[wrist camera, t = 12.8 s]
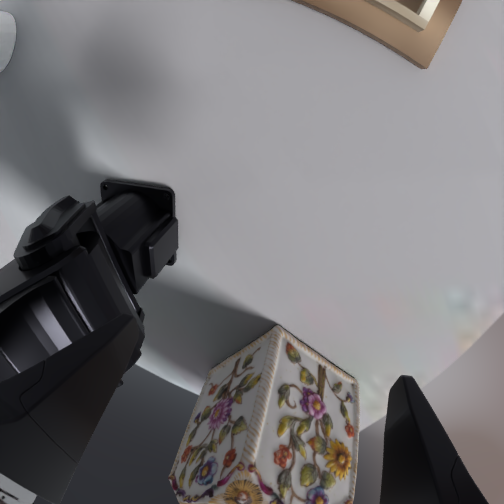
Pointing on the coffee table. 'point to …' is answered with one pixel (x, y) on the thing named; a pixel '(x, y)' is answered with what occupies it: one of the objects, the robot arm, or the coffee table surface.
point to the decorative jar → (271, 429)
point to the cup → (6, 38)
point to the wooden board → (395, 23)
